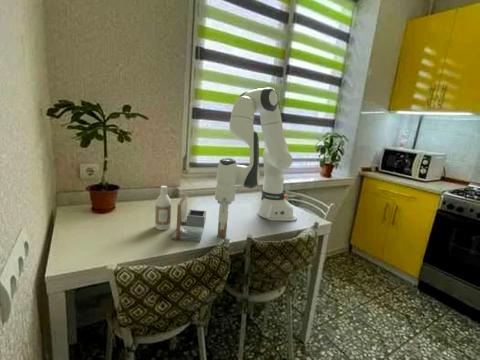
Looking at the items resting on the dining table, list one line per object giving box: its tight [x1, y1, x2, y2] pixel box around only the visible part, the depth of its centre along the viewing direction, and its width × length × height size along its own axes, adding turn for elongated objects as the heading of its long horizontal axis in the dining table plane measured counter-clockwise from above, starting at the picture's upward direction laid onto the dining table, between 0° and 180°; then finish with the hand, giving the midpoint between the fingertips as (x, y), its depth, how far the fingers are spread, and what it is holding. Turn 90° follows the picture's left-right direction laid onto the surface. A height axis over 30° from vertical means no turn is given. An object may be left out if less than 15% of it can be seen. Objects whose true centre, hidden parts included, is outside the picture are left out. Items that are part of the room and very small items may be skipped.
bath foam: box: [154, 185, 172, 231], centre depth 129 cm, size 7×7×20 cm
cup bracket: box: [171, 193, 207, 243], centre depth 126 cm, size 13×16×16 cm
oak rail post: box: [216, 215, 229, 238], centre depth 127 cm, size 4×4×12 cm
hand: (222, 224), depth 127 cm, fingers open, 8 cm apart
